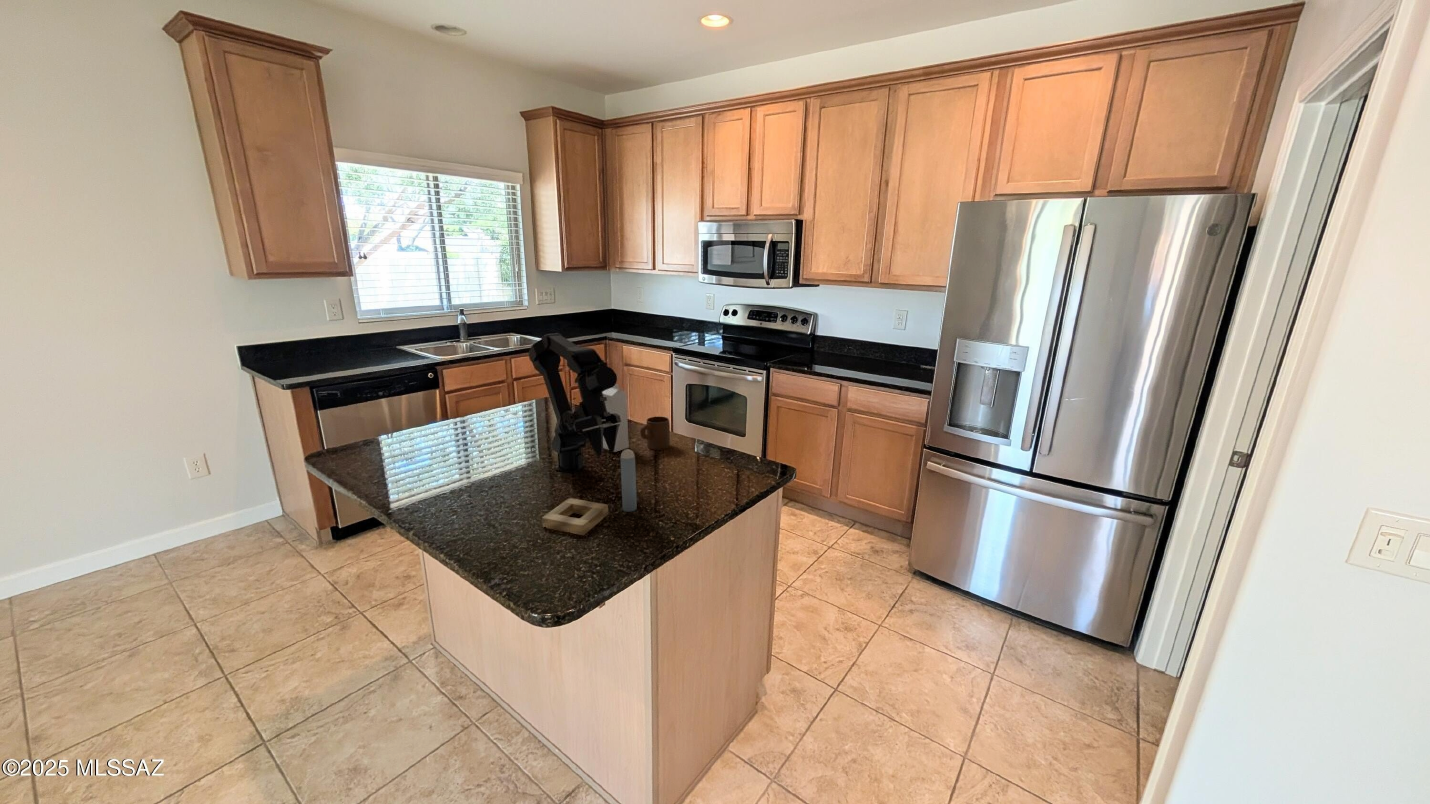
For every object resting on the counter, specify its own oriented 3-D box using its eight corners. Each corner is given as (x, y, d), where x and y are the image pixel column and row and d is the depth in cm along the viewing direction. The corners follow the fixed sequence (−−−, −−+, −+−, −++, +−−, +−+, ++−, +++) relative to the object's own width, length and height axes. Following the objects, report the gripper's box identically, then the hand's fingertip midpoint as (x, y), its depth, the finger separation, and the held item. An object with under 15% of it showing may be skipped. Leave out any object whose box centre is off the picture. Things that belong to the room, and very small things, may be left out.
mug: (650, 456, 168) (649, 428, 166) (633, 451, 172) (632, 423, 170) (674, 445, 178) (674, 418, 175) (657, 441, 182) (656, 414, 179)
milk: (614, 452, 171) (610, 386, 165) (602, 447, 175) (599, 383, 169) (629, 447, 176) (626, 383, 169) (617, 443, 179) (614, 380, 173)
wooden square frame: (542, 527, 124) (541, 517, 123) (570, 506, 134) (569, 497, 133) (583, 535, 121) (582, 525, 120) (608, 513, 131) (607, 504, 130)
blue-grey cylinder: (620, 510, 133) (617, 451, 128) (626, 504, 136) (624, 446, 132) (632, 512, 131) (630, 452, 127) (639, 506, 135) (637, 448, 130)
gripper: (578, 402, 150) (591, 456, 149) (547, 403, 131) (562, 465, 131) (614, 393, 148) (628, 447, 148) (589, 392, 130) (604, 454, 129)
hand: (606, 453), depth 139 cm, fingers open, 9 cm apart
